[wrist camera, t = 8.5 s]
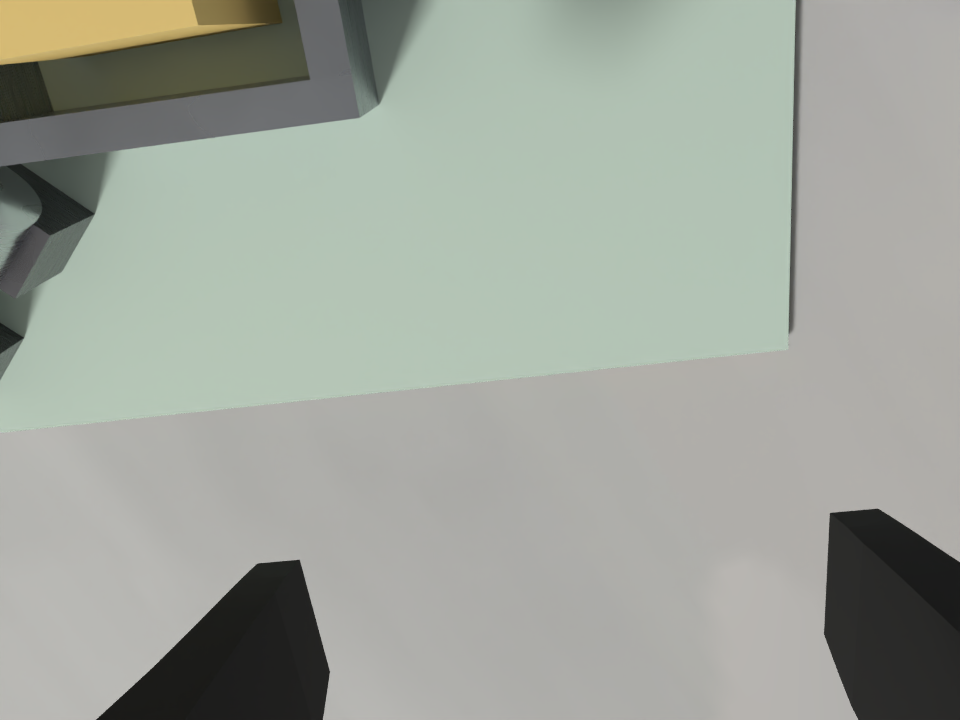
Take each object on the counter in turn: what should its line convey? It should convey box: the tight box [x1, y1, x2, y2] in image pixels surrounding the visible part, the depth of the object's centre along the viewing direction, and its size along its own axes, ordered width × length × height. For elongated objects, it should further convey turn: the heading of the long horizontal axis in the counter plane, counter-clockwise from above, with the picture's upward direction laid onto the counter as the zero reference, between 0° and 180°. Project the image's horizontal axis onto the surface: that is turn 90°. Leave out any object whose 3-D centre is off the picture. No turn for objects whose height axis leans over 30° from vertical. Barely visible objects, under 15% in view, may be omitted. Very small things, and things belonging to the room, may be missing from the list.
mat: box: [0, 0, 796, 433], centre depth 17 cm, size 22×16×1 cm
